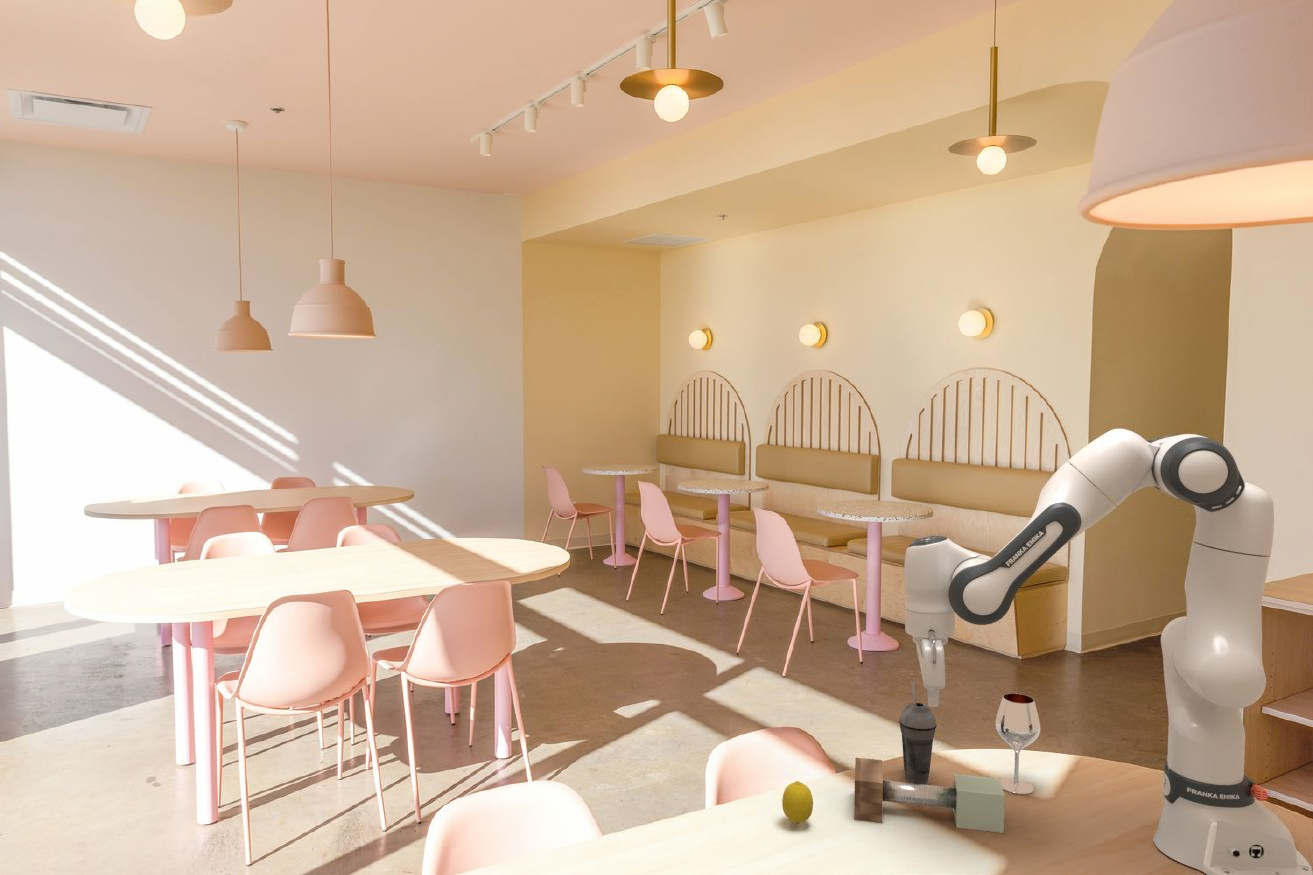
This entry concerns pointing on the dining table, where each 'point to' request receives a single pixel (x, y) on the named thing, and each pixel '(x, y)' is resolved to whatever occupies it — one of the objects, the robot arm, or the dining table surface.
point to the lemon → (797, 802)
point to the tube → (919, 794)
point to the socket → (868, 790)
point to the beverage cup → (917, 740)
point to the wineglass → (1017, 733)
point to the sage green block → (979, 803)
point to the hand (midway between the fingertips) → (931, 696)
